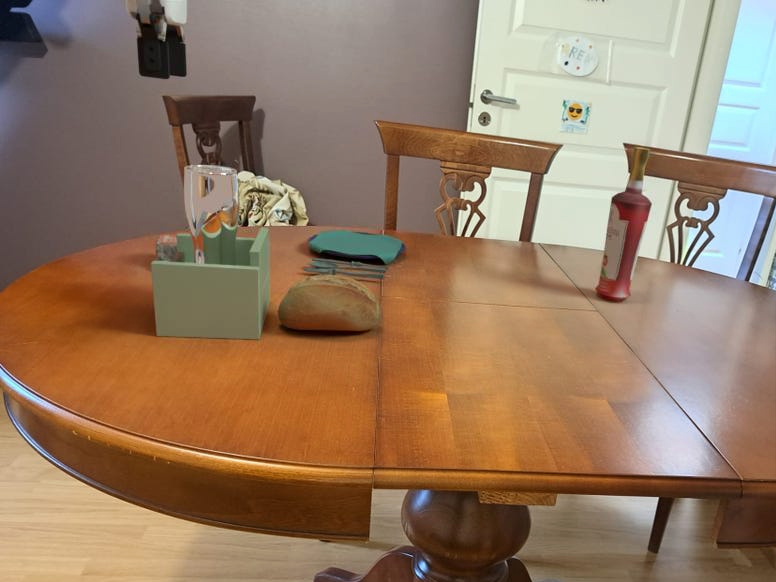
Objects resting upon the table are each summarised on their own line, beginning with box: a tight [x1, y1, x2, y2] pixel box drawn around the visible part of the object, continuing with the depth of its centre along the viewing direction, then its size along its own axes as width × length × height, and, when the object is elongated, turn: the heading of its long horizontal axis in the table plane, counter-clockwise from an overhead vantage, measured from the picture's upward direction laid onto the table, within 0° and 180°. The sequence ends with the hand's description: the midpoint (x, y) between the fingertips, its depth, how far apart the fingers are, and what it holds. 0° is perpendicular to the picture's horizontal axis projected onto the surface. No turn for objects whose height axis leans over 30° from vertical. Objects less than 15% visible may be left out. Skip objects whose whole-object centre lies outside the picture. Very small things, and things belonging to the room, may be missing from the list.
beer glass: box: [183, 164, 241, 265], centre depth 91 cm, size 7×7×15 cm
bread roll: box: [277, 274, 384, 332], centre depth 96 cm, size 10×15×8 cm, turn 102°
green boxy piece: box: [150, 227, 271, 341], centre depth 94 cm, size 13×16×12 cm
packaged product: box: [154, 234, 177, 262], centre depth 117 cm, size 18×5×10 cm
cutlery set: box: [302, 229, 407, 280], centre depth 132 cm, size 20×30×2 cm, turn 0°
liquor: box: [594, 146, 653, 303], centre depth 123 cm, size 7×7×28 cm
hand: (164, 76), depth 81 cm, fingers open, 9 cm apart
